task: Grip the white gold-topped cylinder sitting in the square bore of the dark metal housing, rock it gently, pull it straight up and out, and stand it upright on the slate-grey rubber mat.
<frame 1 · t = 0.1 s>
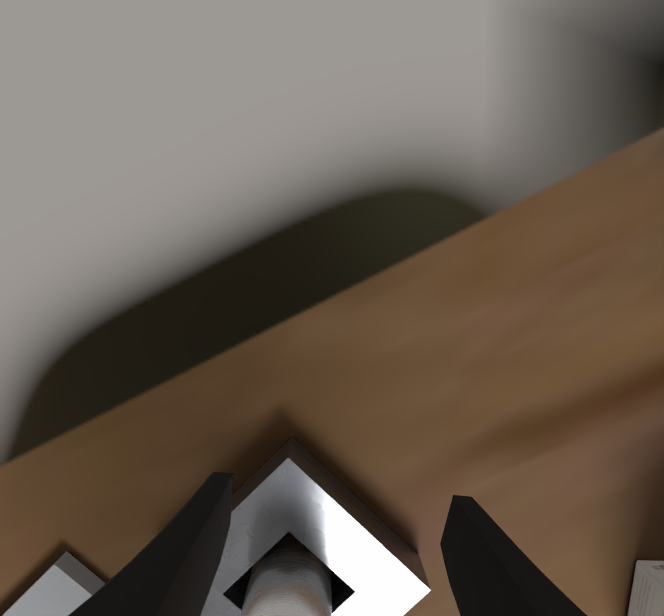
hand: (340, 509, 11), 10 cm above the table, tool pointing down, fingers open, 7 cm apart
housing: (293, 557, 22), on the table
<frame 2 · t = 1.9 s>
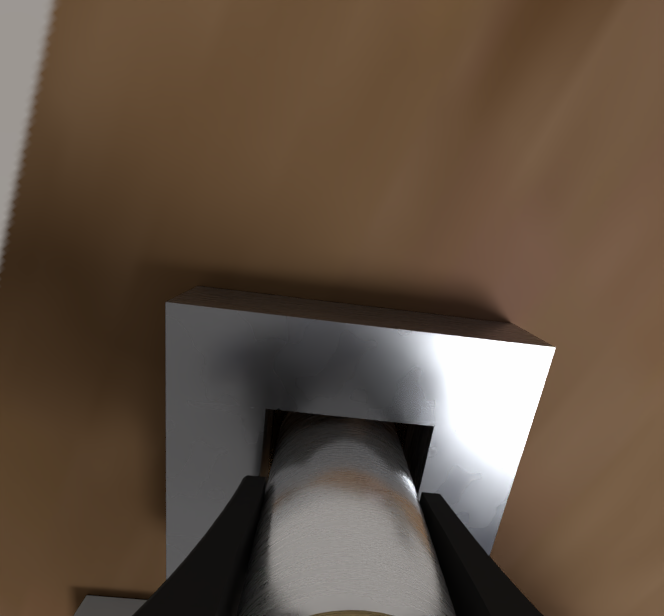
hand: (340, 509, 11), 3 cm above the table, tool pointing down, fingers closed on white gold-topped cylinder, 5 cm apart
housing: (337, 441, 14), on the table
white gold-topped cylinder: (341, 525, 10), in the housing, touching gripper
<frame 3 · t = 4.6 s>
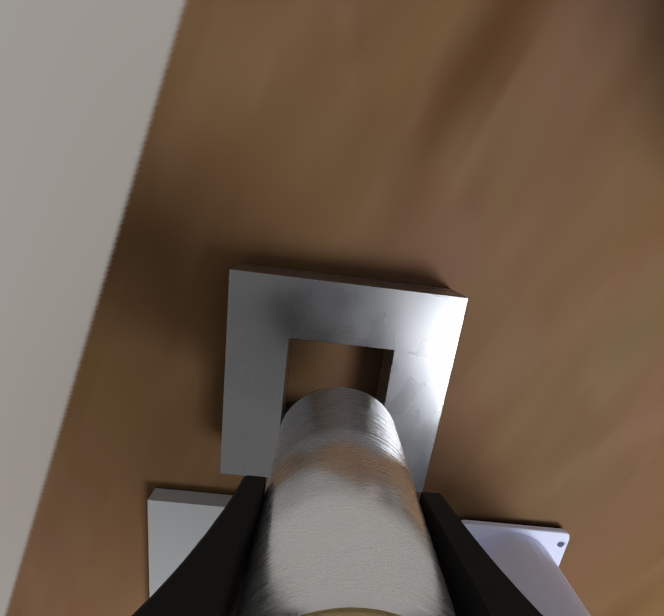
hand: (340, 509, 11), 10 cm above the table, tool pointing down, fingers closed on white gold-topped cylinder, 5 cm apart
housing: (334, 371, 20), on the table
mat: (239, 562, 24), on the table
white gold-topped cylinder: (341, 523, 10), point 11 cm above the table, touching gripper
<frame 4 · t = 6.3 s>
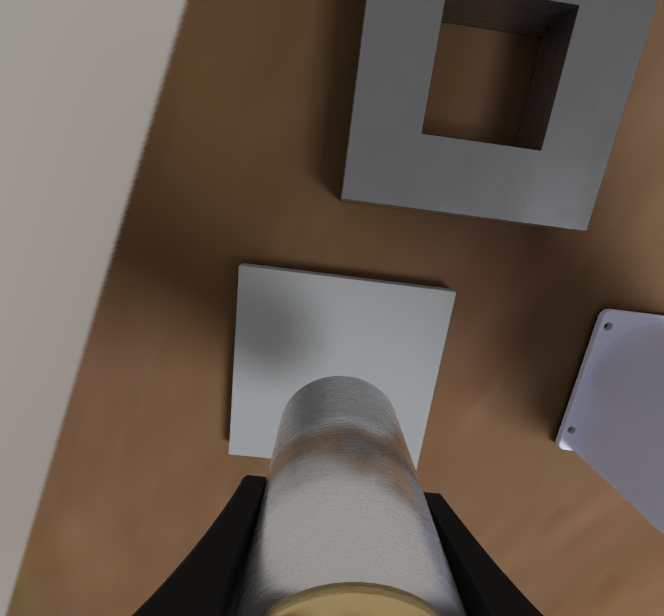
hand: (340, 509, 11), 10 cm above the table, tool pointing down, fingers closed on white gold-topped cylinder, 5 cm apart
housing: (472, 93, 17), on the table
mat: (334, 370, 21), on the table
white gold-topped cylinder: (342, 509, 10), point 11 cm above the table, touching gripper
when the fingers open (6 cm above the table, at t = 7.5 s): white gold-topped cylinder drops 1 cm, resting on mat.
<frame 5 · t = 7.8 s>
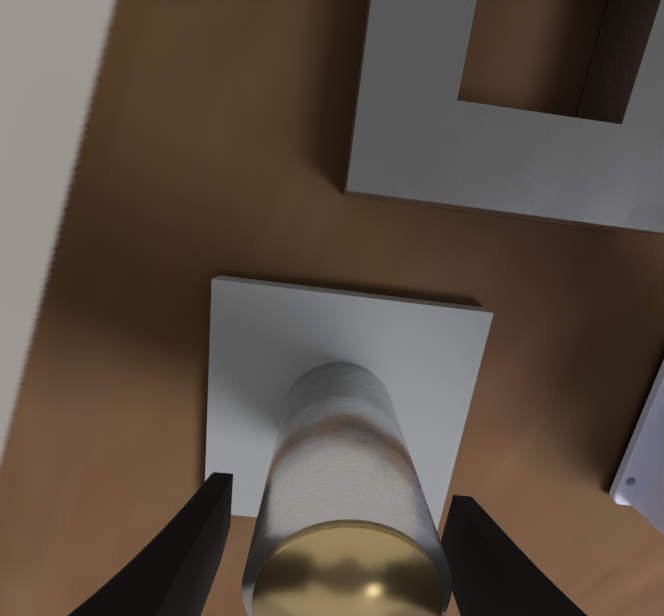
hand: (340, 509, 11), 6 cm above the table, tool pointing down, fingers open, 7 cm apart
housing: (520, 51, 13), on the table
mat: (336, 409, 16), on the table
white gold-topped cylinder: (341, 476, 11), on the mat, point 5 cm above the table
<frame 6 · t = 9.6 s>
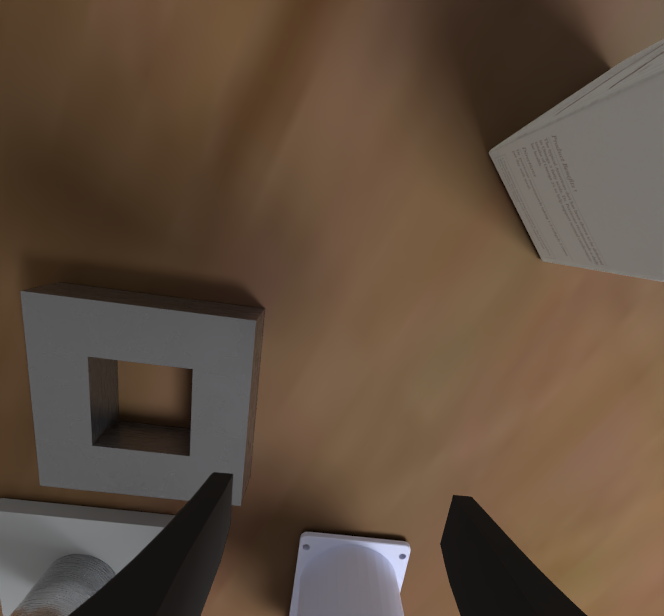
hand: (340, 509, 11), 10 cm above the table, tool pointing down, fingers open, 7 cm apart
housing: (162, 387, 21), on the table
supplement box: (571, 170, 18), on the table
mat: (93, 571, 25), on the table
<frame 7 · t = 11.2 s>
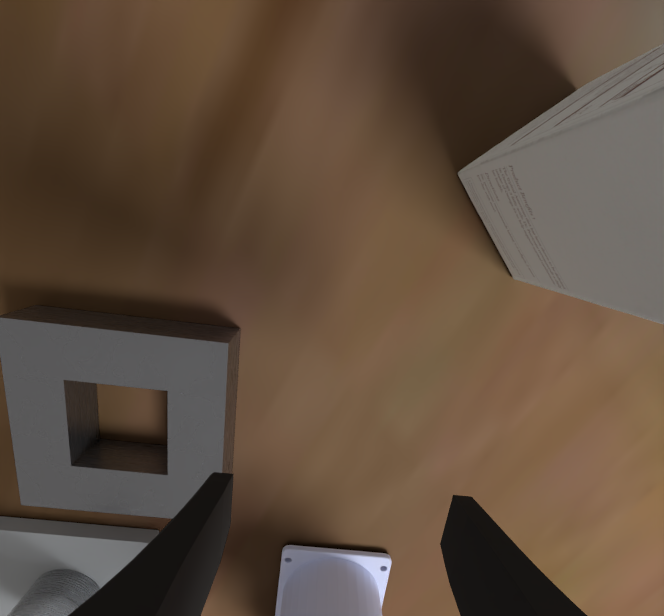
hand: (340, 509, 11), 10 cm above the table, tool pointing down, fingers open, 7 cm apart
housing: (141, 405, 21), on the table
supplement box: (540, 190, 18), on the table
mat: (79, 585, 25), on the table
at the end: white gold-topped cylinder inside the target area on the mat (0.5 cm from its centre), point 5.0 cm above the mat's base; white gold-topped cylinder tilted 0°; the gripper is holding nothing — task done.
